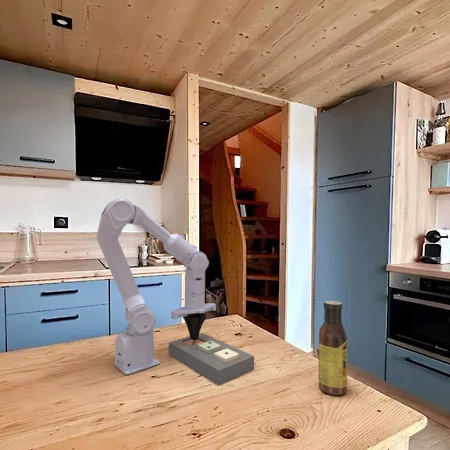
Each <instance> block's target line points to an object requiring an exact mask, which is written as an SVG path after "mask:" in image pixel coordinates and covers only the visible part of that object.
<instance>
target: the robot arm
mask: <svg viewBox="0 0 450 450" xmlns="http://www.w3.org/2000/svg"><path fill="white" fill-rule="evenodd" d="M126 225H135V226H140V227H141V228H143V230H145V231H146V232H147V233H149V234H151V236H154V237H155V238H156V239H157V240H159V241H160V242H162V244H163V250H164V251H166V252H167V253H168V254H170V255H171V256H172V257H173V258H175V259H176V260H177V261H179V262H180V263H182V265H183V267H184V268H185V270H184V271H185V276H184V306H183V307H180V308H177V309H174V310H171V311H170V318H171V319H173V320H178V319H180V318H182V319H183V320H184V322H185V325H186V327H187V330H188V334H189V336H190V339H192V340H194V341H195V340H198V337H199V333H201V330H202V327H203V324H204V322H205V321H206V320H207V314H205V312H211V311H216V308H217V304H216V303H213V302H209V303H206V302H205V301H206V300H205V297H206V296H205V295H206V294H205V293H206V292H205V290H206V288H205V287H206V270H207V269H208V268H209V264H210V261H209V259H208V256H207V255H206V254H205V253H204V252H202V251H198V250H197V249H198V247H197V246H196V245H192V244H191V242H189V241H187V239H185V238H186V236H184V234H181V233H180V234H179V233H176V232H175V233H171V232H169V231H168V230H167V229H165V228H164V226H162V225H161V223H159V222H158V221H157V220H156V219H154V218H153V217H152V215H149V214H148V213H147V212H146V211H144V209H142V207H139V206H138V205H136V204H133V203H132V202H131V201H130V200H129V199H127V198H124V197H118V198H115V199H113V200H111V201H110V202H108V203H107V205H105V207H104V209H103V210H102V212H101V214H100V218H99V223H98V227H97V231H96V241H97V243H98V246H99V248H100V250H101V252H102V254H103V257H104V259H105V261H106V263H107V266H108V269H109V271H110V273H111V275H112V277H113V278H112V279H113V280H114V283H115V285H116V287H117V291H118V292H119V294H120V297H121V299H122V303H123V304H124V307H125V313H124V314H125V319H126V320H127V322H128V324H127V325H126V328H125V331H124V332H123V333H121V334H118V335H117V336H115V337H116V338H115V342H114V344H115V345H114V362H113V365H114V366H115V367H117V369H118V370H120V371H121V372H122V373H123V374H124V375H130V374H134V373H137V372H139V371H142V370H146V369H149V368H152V367H156V366H157V365H160V364H161V362H160V361H159V360H157V359H156V358H155V357H154V346H155V345H154V344H155V343H154V341H155V340H154V339H155V338H154V336H155V334H154V330H155V326H156V322H157V320H156V315H155V313H154V312H153V311H152V310H150V308H149V307H148V305H147V303H146V302H145V300H144V297H143V296H142V294H141V292H140V289H139V287H138V285H137V282H136V279H135V277H134V275H133V273H132V270H131V267H130V265H129V262H128V260H127V258H126V256H125V253H124V251H123V248H122V246H121V244H120V242H119V237H120V235H121V234H122V232H123V229H124V228H125V227H126Z"/></svg>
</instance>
